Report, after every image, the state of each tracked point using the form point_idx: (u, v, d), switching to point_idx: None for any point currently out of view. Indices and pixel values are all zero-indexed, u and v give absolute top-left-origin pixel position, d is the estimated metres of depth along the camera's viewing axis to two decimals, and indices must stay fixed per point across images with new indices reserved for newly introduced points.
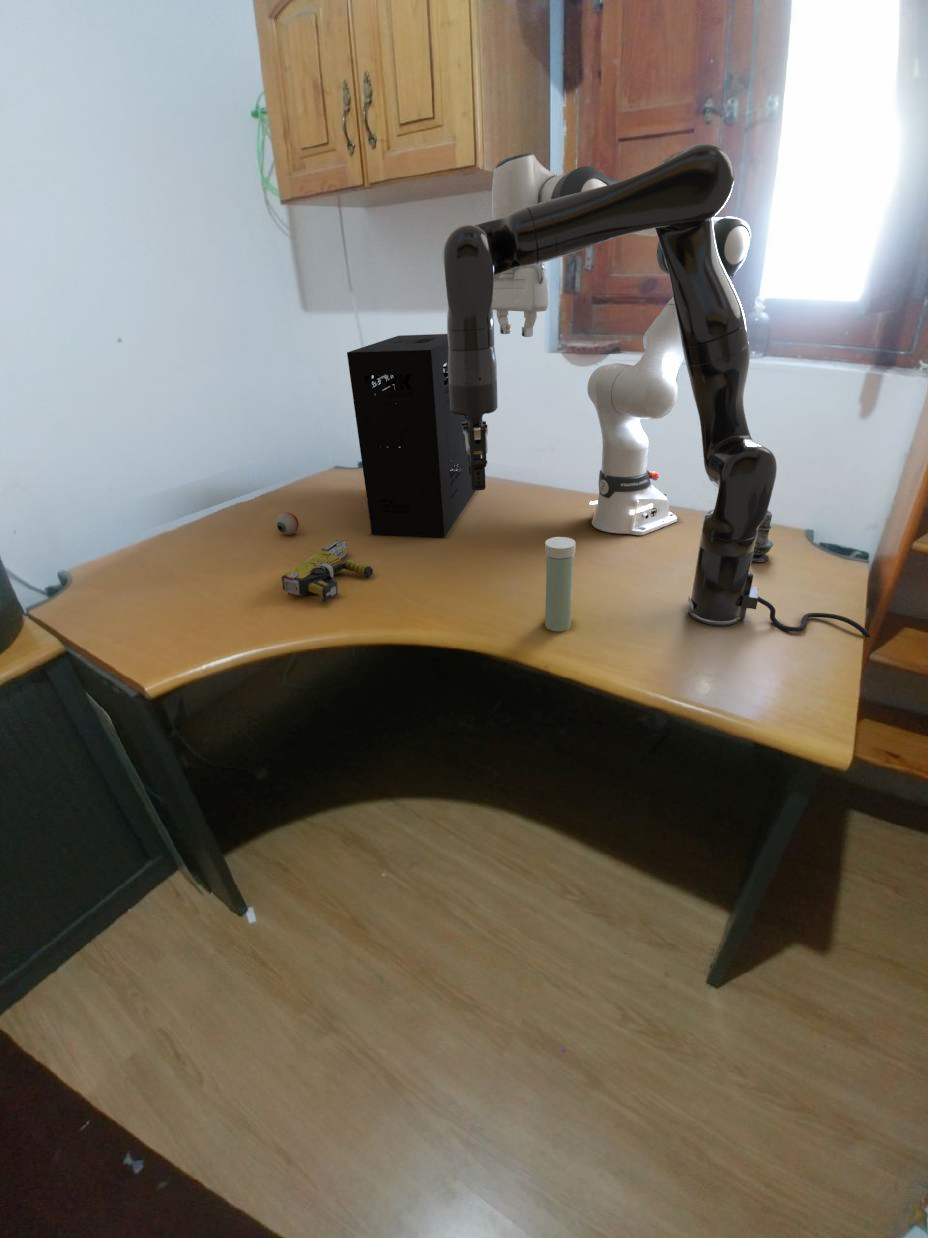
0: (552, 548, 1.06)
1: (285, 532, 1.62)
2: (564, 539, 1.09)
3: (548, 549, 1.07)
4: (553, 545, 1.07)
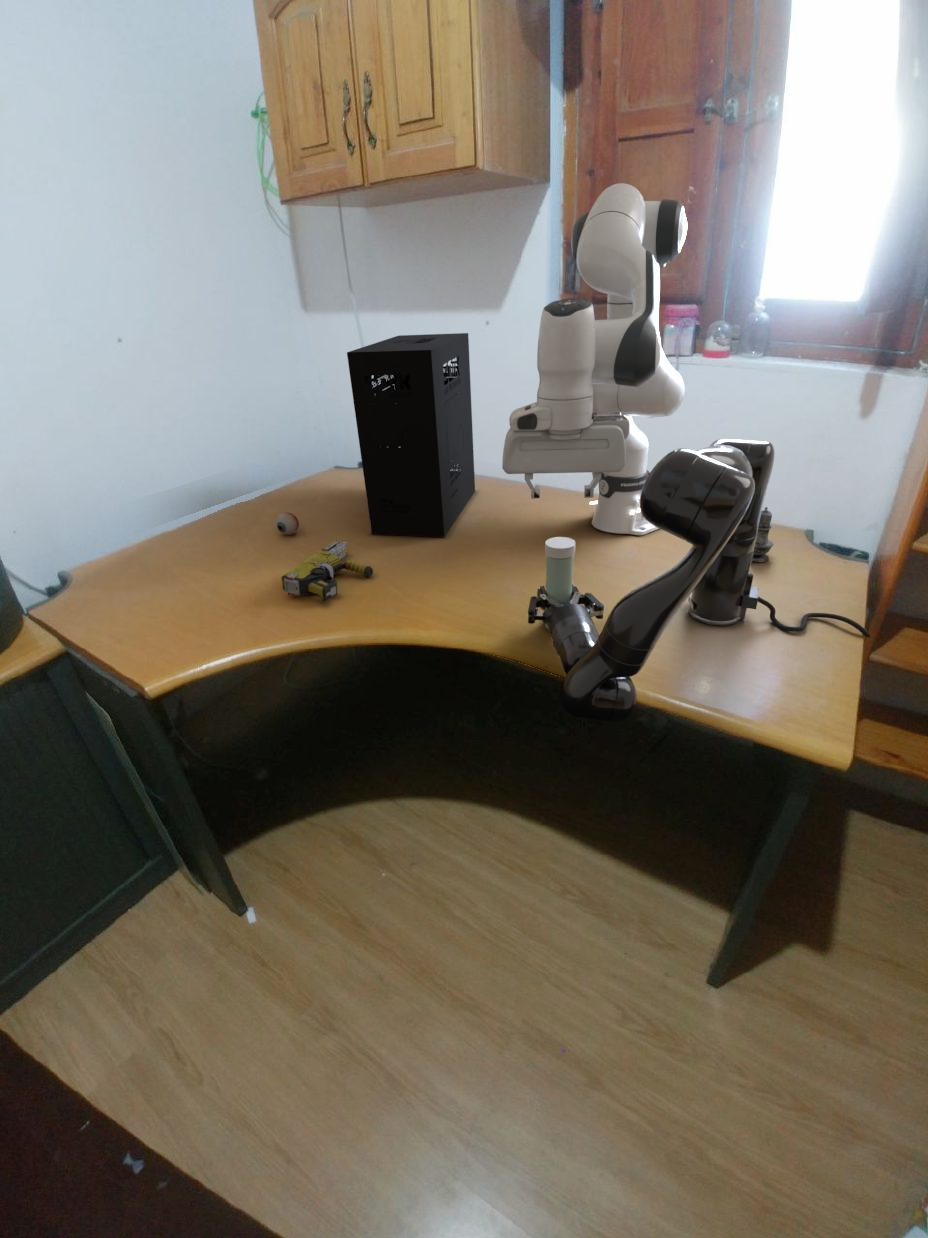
0: (552, 548, 1.06)
1: (285, 532, 1.62)
2: (564, 539, 1.09)
3: (548, 549, 1.07)
4: (553, 545, 1.07)
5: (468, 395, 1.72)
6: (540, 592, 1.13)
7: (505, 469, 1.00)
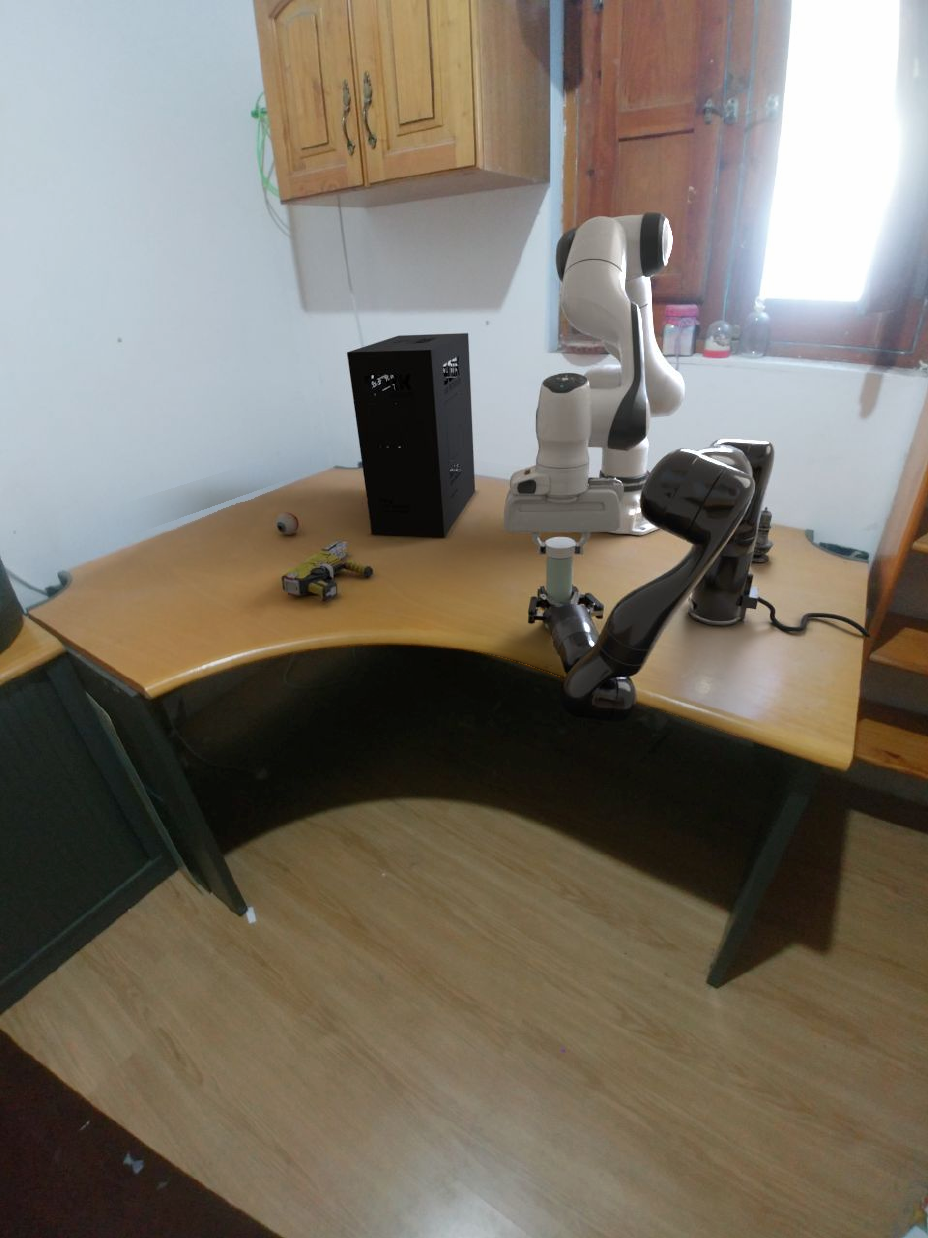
0: (552, 548, 1.06)
1: (285, 532, 1.62)
2: (564, 539, 1.09)
3: (548, 549, 1.07)
4: (553, 545, 1.07)
5: (468, 395, 1.72)
6: (540, 592, 1.13)
7: (506, 528, 1.06)
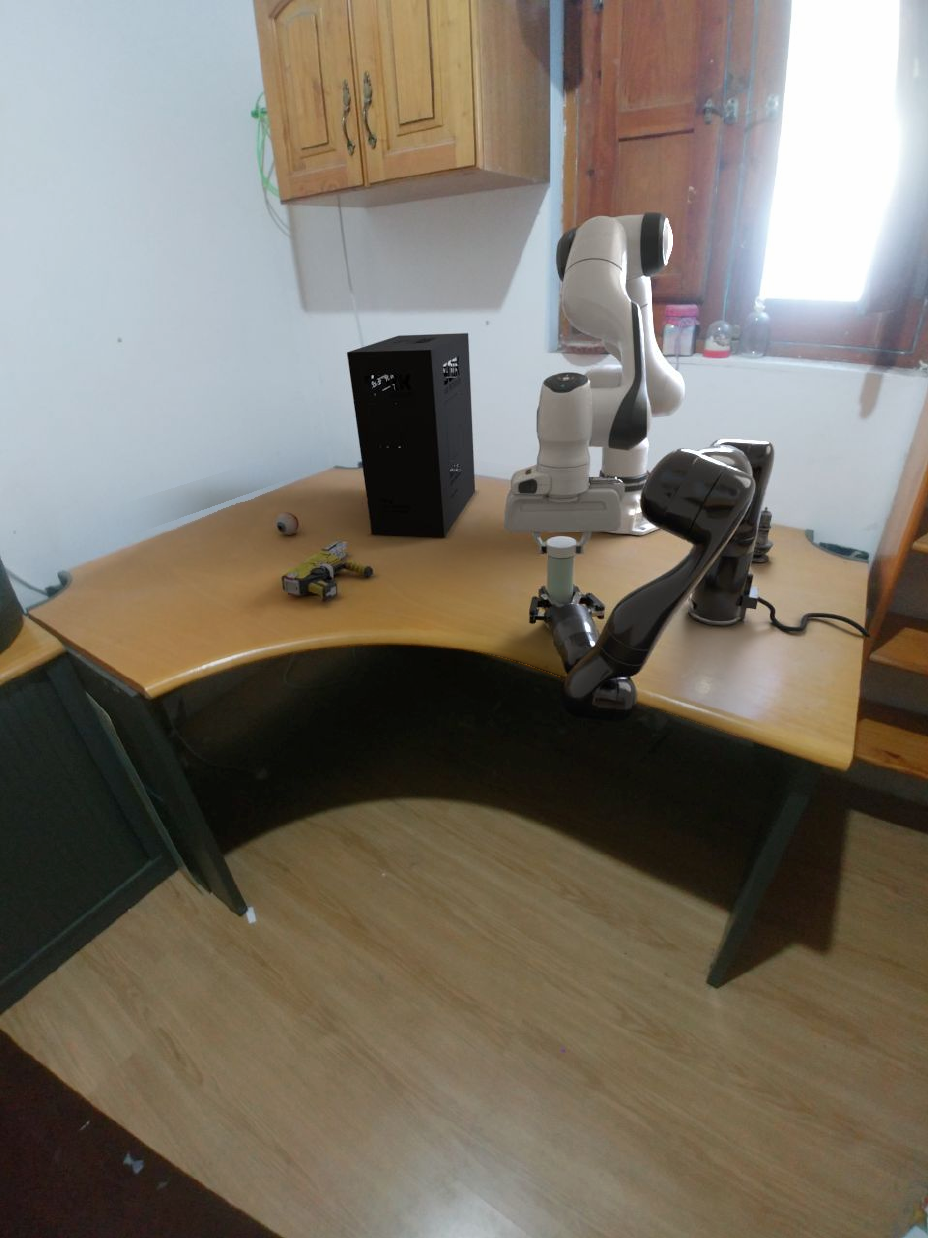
0: (571, 547, 1.06)
1: (285, 532, 1.62)
2: (554, 539, 1.09)
3: (567, 550, 1.06)
4: (567, 545, 1.06)
5: (468, 395, 1.72)
6: (541, 592, 1.13)
7: (506, 528, 1.06)
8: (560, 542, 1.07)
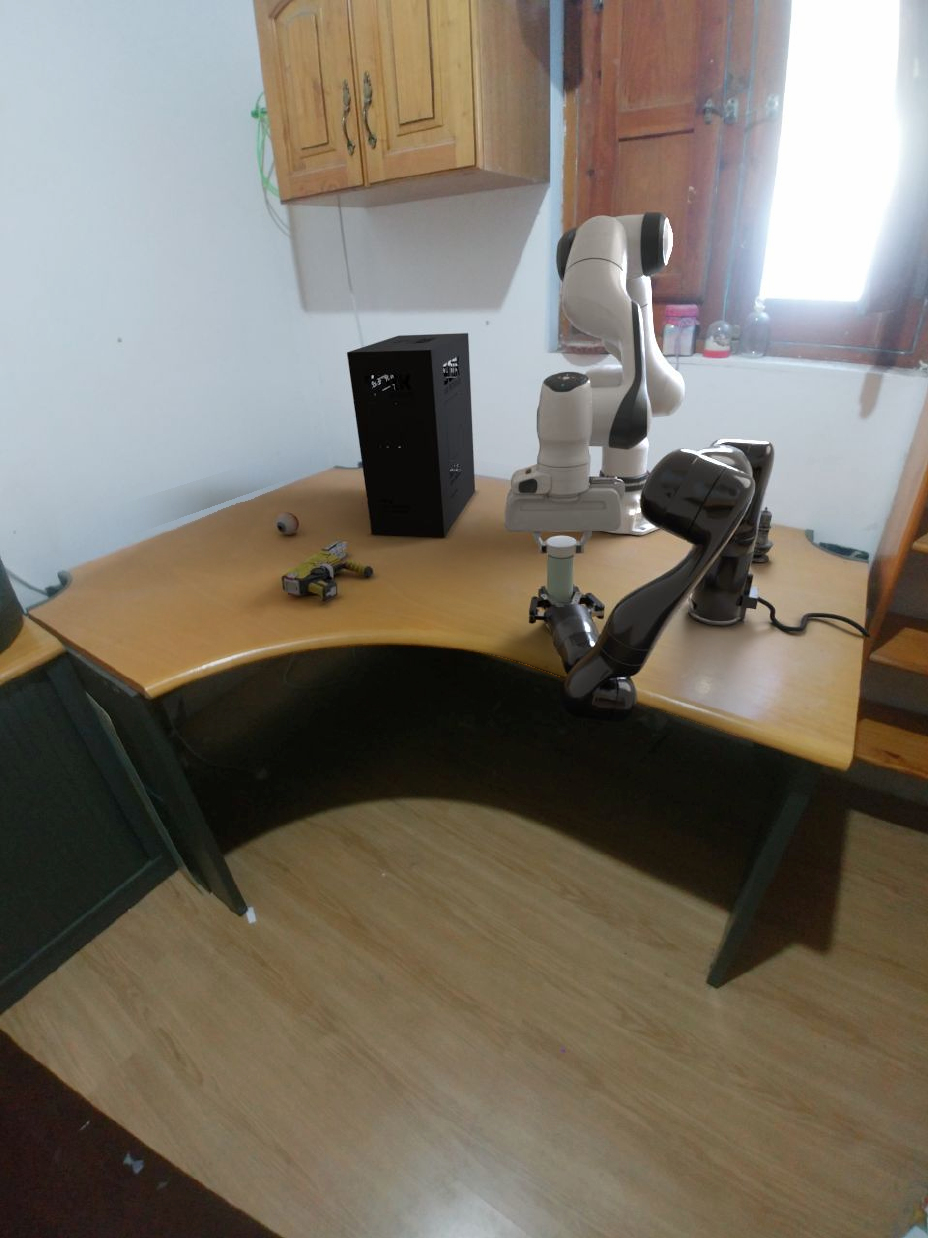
0: (574, 539, 1.08)
1: (285, 532, 1.62)
2: (553, 543, 1.07)
3: None
4: (571, 540, 1.08)
5: (468, 395, 1.72)
6: (541, 592, 1.13)
7: (507, 527, 1.05)
8: (562, 541, 1.07)
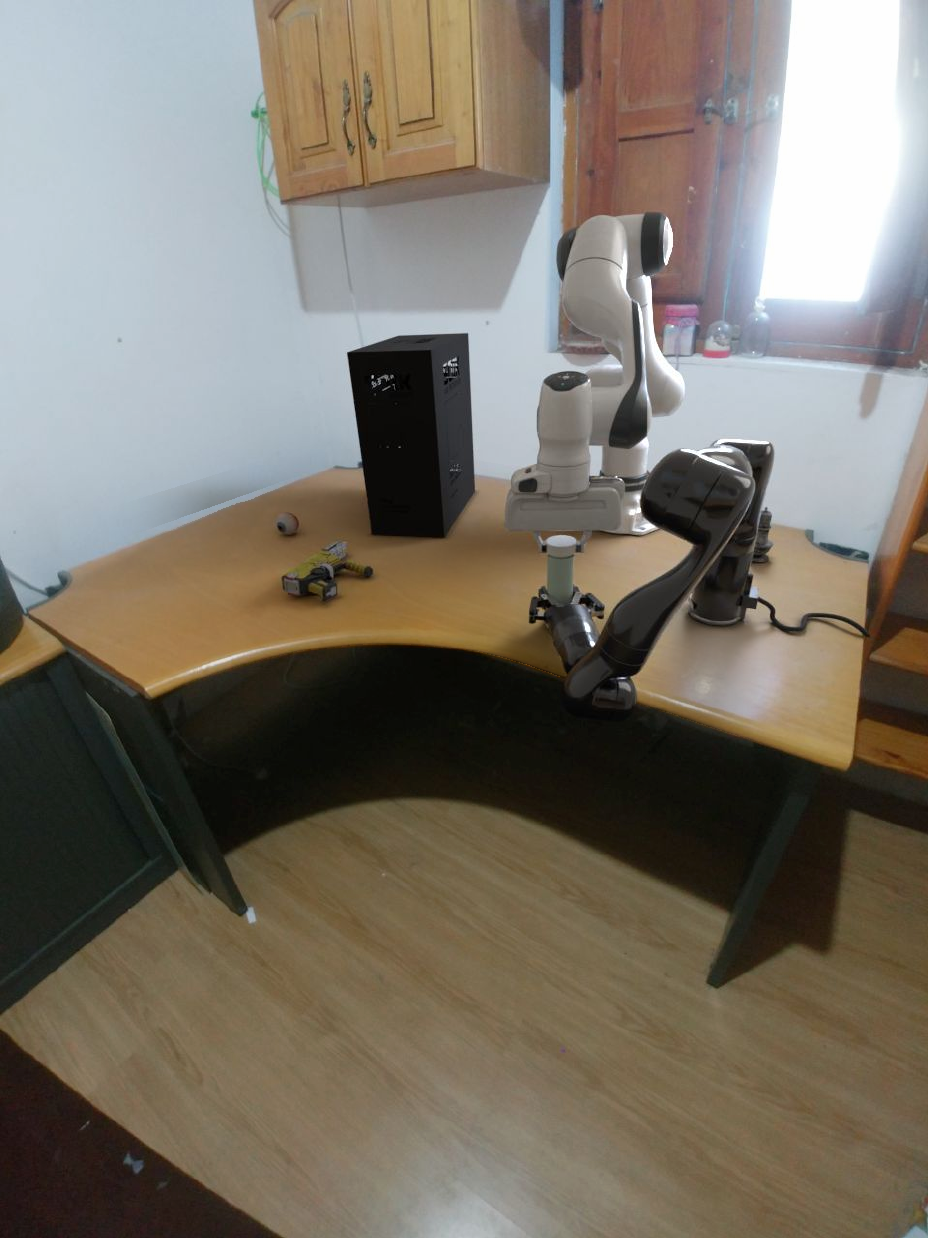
0: (558, 536, 1.10)
1: (285, 532, 1.62)
2: (563, 544, 1.06)
3: None
4: (561, 536, 1.09)
5: (468, 395, 1.72)
6: (541, 592, 1.13)
7: (507, 527, 1.05)
8: (562, 540, 1.08)
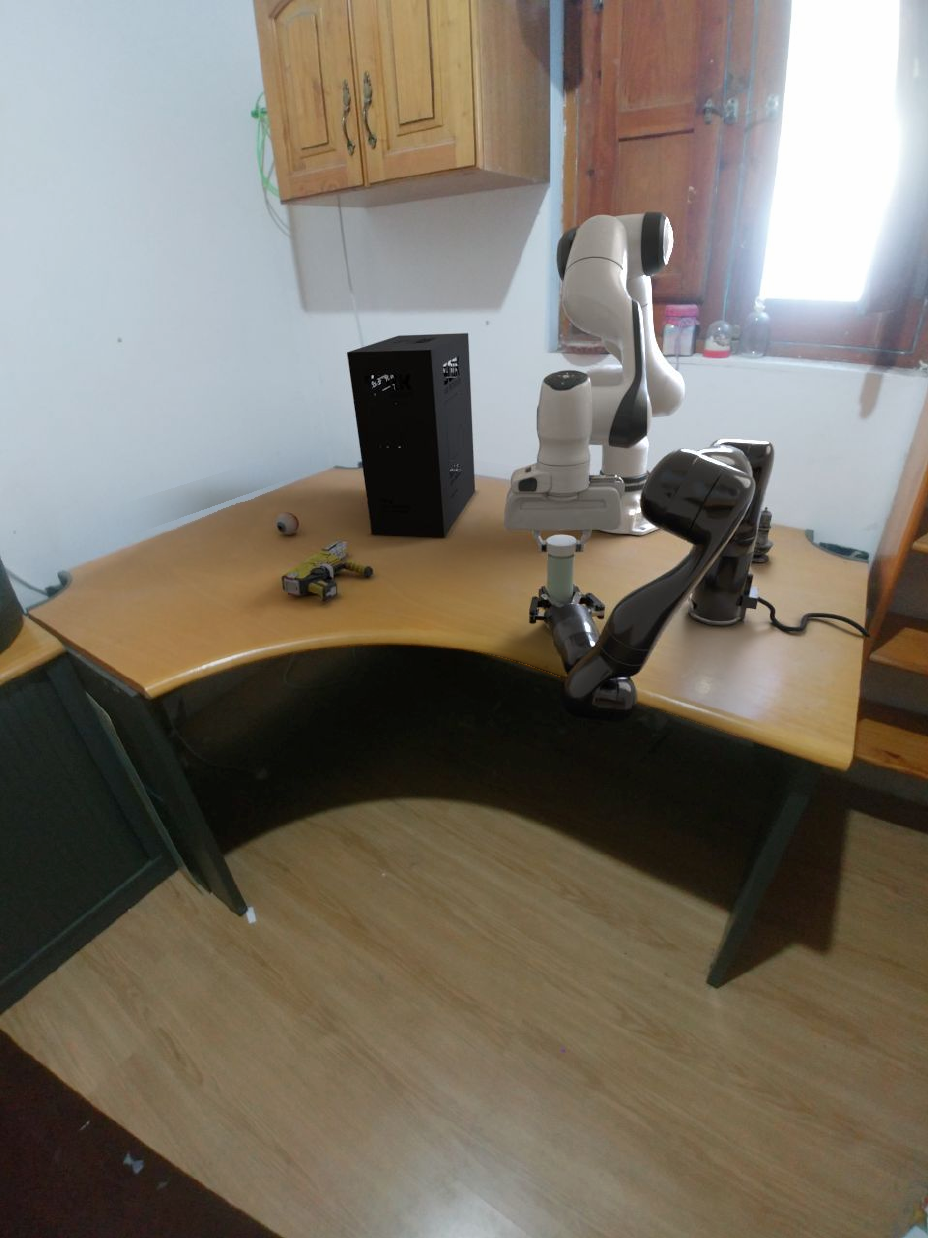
0: None
1: (285, 532, 1.62)
2: (570, 540, 1.07)
3: None
4: (551, 539, 1.08)
5: (468, 395, 1.72)
6: (541, 592, 1.13)
7: (506, 526, 1.05)
8: (561, 539, 1.08)
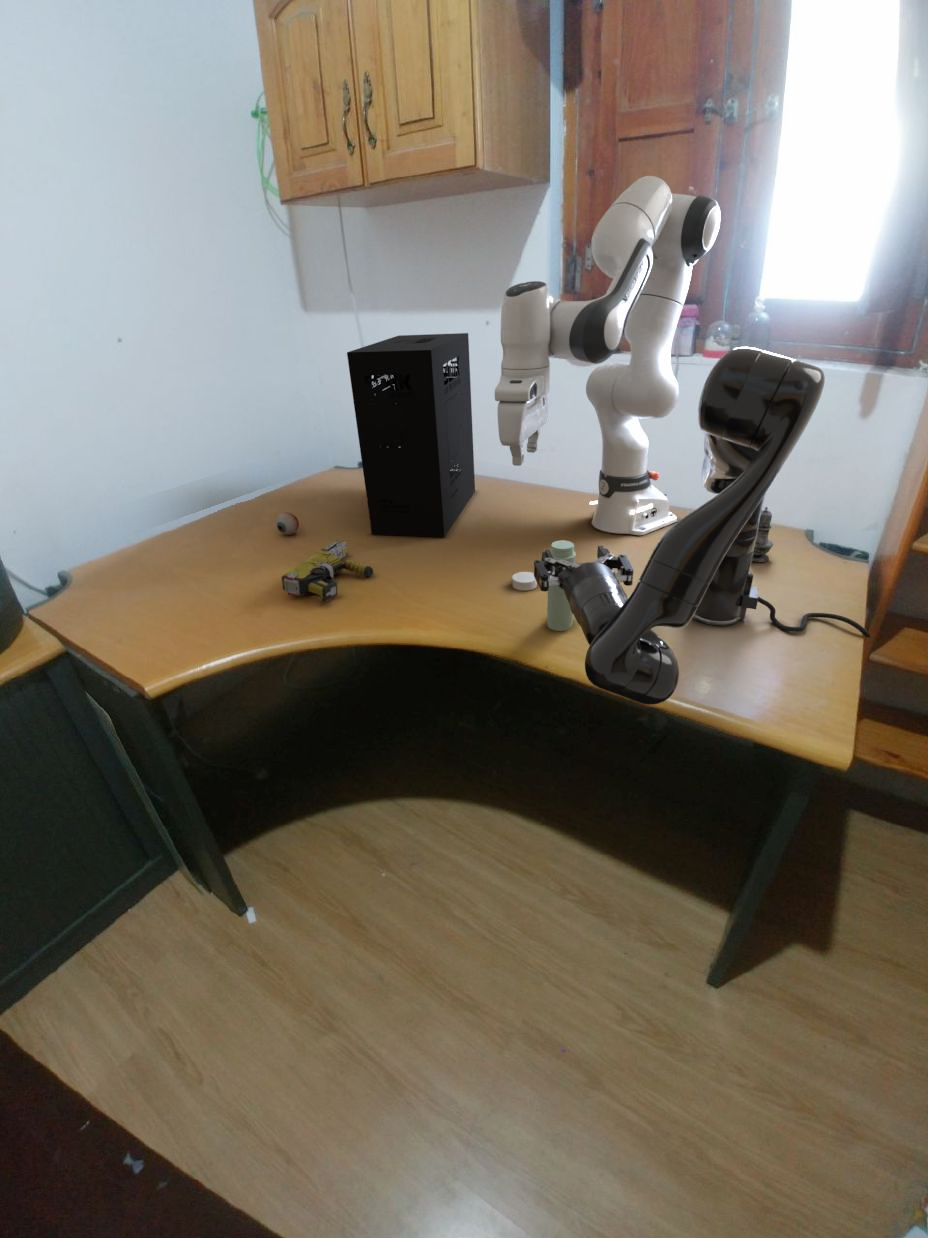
0: (533, 581, 1.29)
1: (285, 532, 1.62)
2: (519, 574, 1.32)
3: (530, 584, 1.29)
4: (529, 579, 1.29)
5: (468, 395, 1.72)
6: (545, 556, 0.95)
7: (519, 441, 1.07)
8: (524, 577, 1.30)
